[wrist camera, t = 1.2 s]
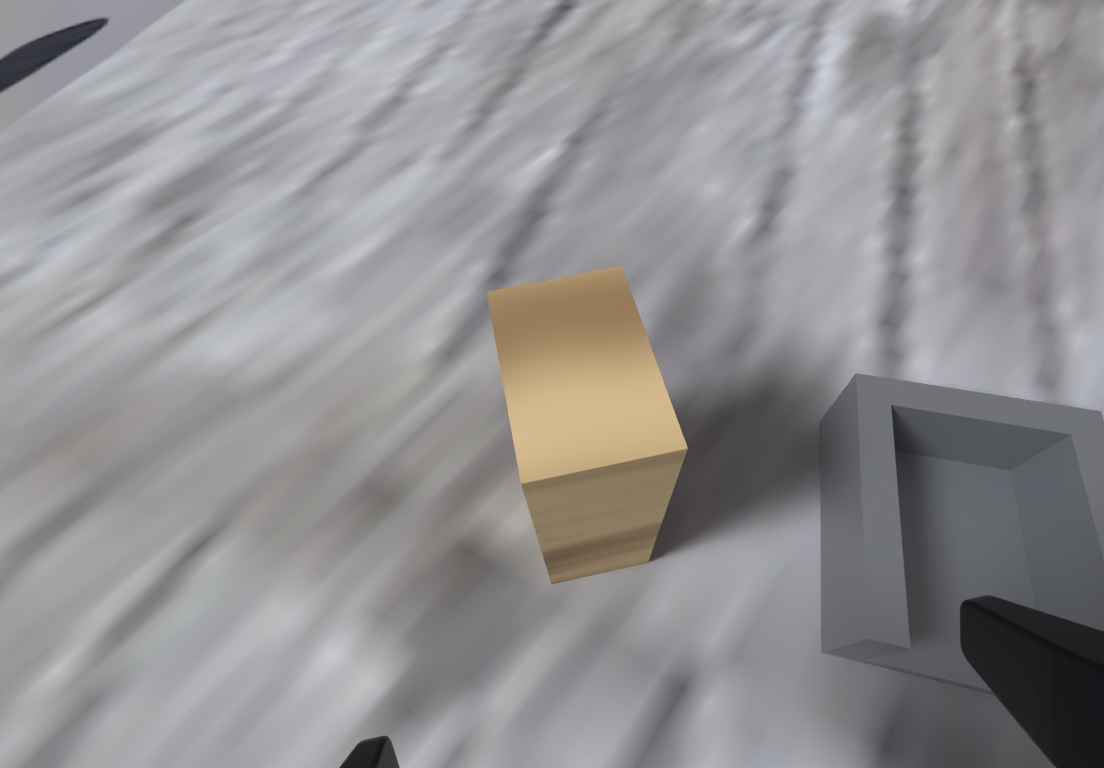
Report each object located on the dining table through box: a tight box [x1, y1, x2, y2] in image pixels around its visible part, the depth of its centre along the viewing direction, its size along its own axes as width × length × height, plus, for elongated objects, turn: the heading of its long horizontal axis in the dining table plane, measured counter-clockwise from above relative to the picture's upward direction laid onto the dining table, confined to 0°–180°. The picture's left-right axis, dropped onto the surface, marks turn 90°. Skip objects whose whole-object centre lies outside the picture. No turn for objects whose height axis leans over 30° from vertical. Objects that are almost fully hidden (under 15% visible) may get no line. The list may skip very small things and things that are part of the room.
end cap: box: [820, 373, 1104, 694], centre depth 20 cm, size 10×8×4 cm
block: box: [487, 266, 688, 584], centre depth 19 cm, size 6×4×11 cm, turn 11°
